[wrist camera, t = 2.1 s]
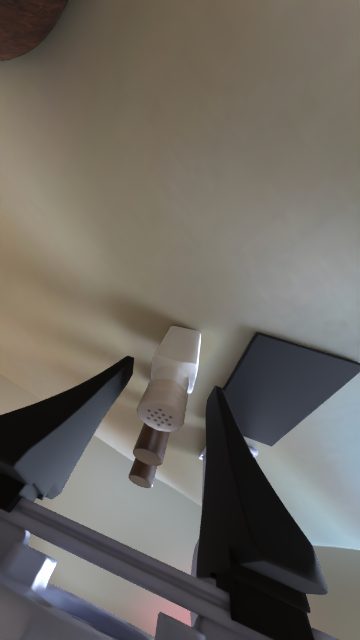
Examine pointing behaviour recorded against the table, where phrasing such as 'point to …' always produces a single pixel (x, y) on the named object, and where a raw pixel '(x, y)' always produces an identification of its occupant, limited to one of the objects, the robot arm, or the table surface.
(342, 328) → the table surface
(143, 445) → the walnut dowel
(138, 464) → the walnut dowel
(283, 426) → the mat
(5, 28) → the wooden bowl
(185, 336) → the pepper shaker
